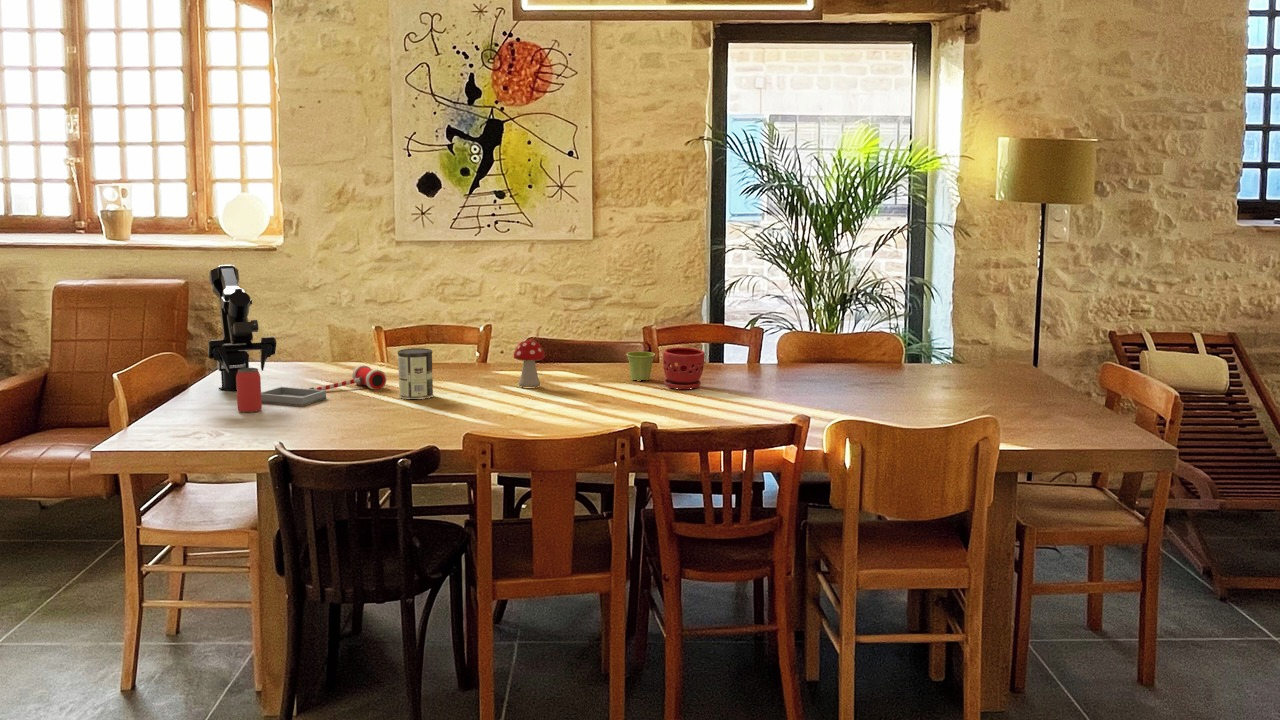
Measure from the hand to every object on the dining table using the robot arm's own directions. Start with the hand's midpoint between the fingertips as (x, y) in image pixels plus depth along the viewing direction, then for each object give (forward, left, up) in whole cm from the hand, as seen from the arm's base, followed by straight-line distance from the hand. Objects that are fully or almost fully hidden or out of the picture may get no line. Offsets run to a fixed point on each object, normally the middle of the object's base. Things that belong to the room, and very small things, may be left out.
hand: (246, 370), depth 366 cm
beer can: (+3, -3, -11) cm, 12 cm away
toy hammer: (+11, +37, -11) cm, 40 cm away
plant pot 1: (+89, +85, -11) cm, 124 cm away
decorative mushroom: (+61, +60, -11) cm, 86 cm away
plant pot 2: (+106, +78, -11) cm, 132 cm away
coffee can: (+36, +33, -11) cm, 50 cm away
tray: (+5, +14, -11) cm, 18 cm away
